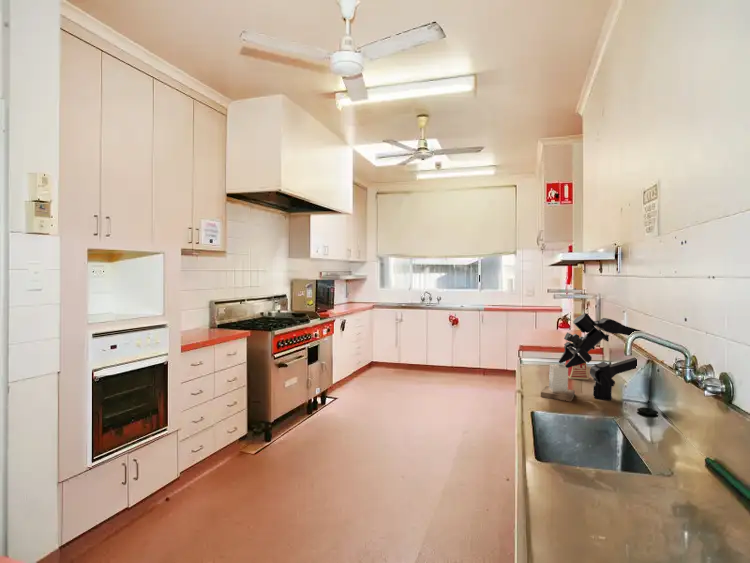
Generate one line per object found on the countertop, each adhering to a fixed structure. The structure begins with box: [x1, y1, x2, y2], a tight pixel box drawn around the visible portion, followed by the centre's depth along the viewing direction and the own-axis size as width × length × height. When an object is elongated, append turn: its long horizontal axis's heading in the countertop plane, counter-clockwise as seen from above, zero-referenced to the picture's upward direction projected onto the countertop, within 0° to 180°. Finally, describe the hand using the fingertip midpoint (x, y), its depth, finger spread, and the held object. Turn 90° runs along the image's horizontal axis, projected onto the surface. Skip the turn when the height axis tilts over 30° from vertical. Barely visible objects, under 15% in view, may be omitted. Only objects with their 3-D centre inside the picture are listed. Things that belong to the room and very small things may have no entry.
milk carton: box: [564, 359, 589, 380], centre depth 228 cm, size 9×9×20 cm
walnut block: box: [540, 385, 576, 402], centre depth 192 cm, size 12×12×2 cm
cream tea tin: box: [548, 363, 569, 393], centre depth 192 cm, size 6×6×11 cm
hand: (562, 364), depth 192 cm, fingers open, 9 cm apart
